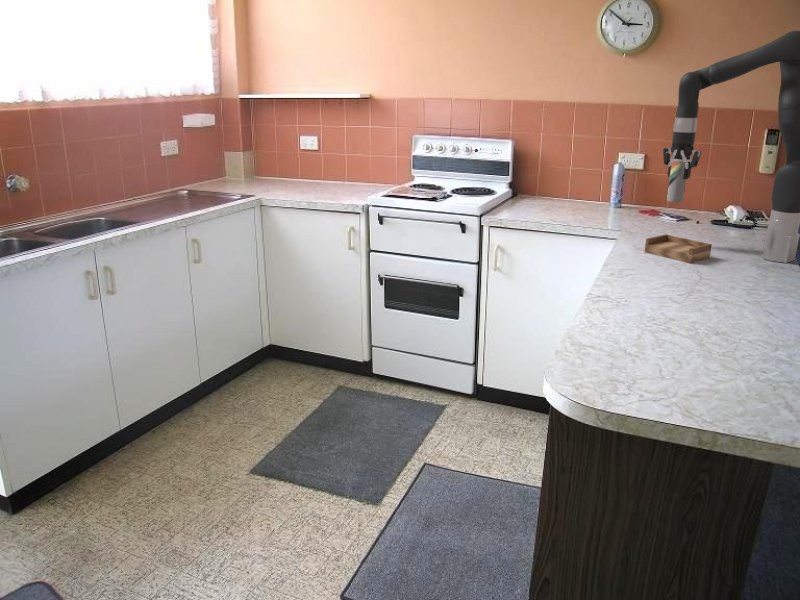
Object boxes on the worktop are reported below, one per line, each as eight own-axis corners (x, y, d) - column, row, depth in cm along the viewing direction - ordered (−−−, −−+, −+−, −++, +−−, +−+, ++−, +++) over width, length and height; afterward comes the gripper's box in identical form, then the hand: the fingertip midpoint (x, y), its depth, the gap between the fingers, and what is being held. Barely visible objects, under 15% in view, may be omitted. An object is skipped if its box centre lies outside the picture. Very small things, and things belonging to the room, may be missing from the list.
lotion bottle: (680, 199, 249) (688, 145, 243) (685, 202, 244) (693, 146, 238) (664, 199, 250) (671, 145, 243) (669, 202, 244) (676, 146, 238)
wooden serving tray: (709, 258, 234) (711, 244, 232) (690, 263, 227) (692, 249, 225) (663, 247, 247) (665, 234, 246) (644, 252, 241) (646, 238, 239)
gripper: (709, 131, 235) (702, 179, 241) (672, 129, 246) (666, 175, 252) (697, 132, 231) (690, 181, 236) (660, 129, 242) (654, 176, 247)
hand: (678, 177), depth 244 cm, fingers closed on lotion bottle, 5 cm apart
